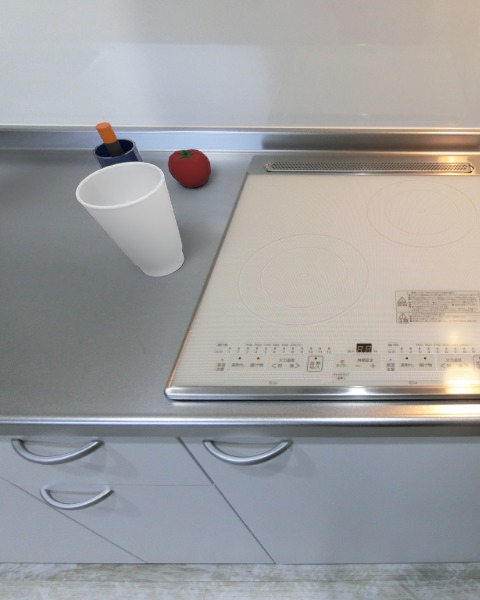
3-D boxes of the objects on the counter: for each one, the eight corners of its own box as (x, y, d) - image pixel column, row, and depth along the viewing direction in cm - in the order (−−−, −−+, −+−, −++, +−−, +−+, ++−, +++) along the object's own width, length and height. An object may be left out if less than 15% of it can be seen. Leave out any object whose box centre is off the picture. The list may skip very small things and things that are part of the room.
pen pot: (105, 184, 91) (85, 148, 85) (141, 169, 95) (124, 134, 89) (123, 198, 87) (103, 162, 82) (158, 182, 91) (142, 147, 85)
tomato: (216, 170, 95) (206, 139, 89) (211, 191, 89) (199, 160, 84) (178, 172, 94) (165, 141, 89) (170, 194, 89) (156, 162, 83)
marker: (122, 181, 91) (93, 125, 82) (134, 176, 92) (106, 120, 83) (128, 185, 89) (99, 129, 80) (139, 180, 91) (112, 125, 82)
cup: (171, 294, 70) (126, 214, 59) (110, 278, 73) (54, 198, 61) (212, 248, 78) (180, 168, 66) (156, 234, 80) (115, 155, 68)
